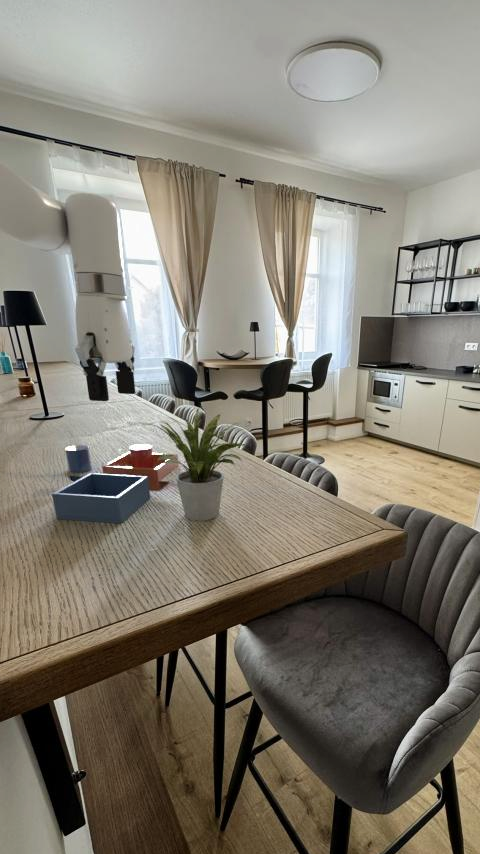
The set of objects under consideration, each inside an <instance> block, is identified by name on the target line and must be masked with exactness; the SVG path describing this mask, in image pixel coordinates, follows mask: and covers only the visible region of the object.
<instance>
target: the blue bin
mask: <svg viewBox="0 0 480 854" xmlns="http://www.w3.org/2000/svg"><path fill="white" fill-rule="evenodd" d="M150 494H151V493H150V490H149V482H148V476H133V475H116V474H103V473H97V472H89V473H88V474H86V475H84V476H83V477H82V478H80V479H78V480H76V481H72V482H71V483H69V484H67V485H66V486H63V487H62V488H59V489H58V490H57V491H54V492H53V493H51V498H52V502H53V508H54V513H55V517H56V520H67V521H83V522H97V523H110V524H123V523H124V522H125V521H127V519H128V518H130V517H131V516H132V515H133V514H134V513H135V512H136V511H138V510H139V509H140V508H141V507H142V506H144V504H146V503H147V502H148V501H150V499H151V495H150Z"/></svg>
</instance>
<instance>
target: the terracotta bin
mask: <svg viewBox="0 0 480 854" xmlns="http://www.w3.org/2000/svg"><path fill="white" fill-rule="evenodd" d="M164 454H165V455H170V456H173V457H175V458H176V459H177V460H179V455H178V454H177V453H176V454H175V453H160V452H159V453H158V452H156V453H155V452H153V460H154V466H156V467H154V468H138V467H132V466H130V465H131V457H130V451H128V452H126V453H124V454H122V455H121V456H118V457H117V458H115V459H113V460H111V461H109V462H107V463H106V464H104V465H102V466H101V469H102V474H116V475H133V476H148V482H149V491H155V492H160V491H161V490H162V489H163V488H164V487H165V486H167V485H168V484H169V483H170V481H169V480H168V481H166V480H165V481H164V480H163V479H164V478H165V477H166V476H167V475H169V474H170V473H172V472H173V471H174V470H175V469H176V468H177V467H179V463H174V462H172V463H164V464H162V463H163V462H165V461H177V460H173V459H165V460H158V458H159V457H160V456H161V455H164ZM157 460H158V461H157ZM177 462H179V461H177Z"/></svg>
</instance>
